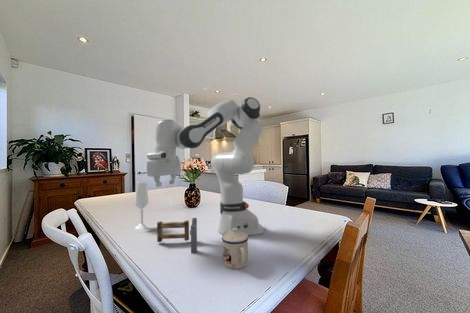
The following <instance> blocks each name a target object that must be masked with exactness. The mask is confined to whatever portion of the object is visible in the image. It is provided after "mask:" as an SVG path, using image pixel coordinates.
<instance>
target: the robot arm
mask: <svg viewBox="0 0 470 313" xmlns="http://www.w3.org/2000/svg"><path fill="white" fill-rule="evenodd" d="M260 111H261V104H260V102H259V101H258V100H257V99H256V98H255V97H253V96H252V97H246V98H244V99H243V101H242V102H241V104H240V105H238V103H237V102H236V101H234V100H233V99H227V100H224V101H221V102H219V103H218V104H216V105H214V106H213V107H212V108H210V109H209V110H208V111H207V114H206V118H205V119H204V120H203V121H201V122H199V123H198V124H191V125H187V126H185V127H183V126H181V125H179V123H177V122H176V121H175V120H173V119H164V120H160V121H158V123H156V127H155V141H156V142H155V143H156V144H155V150H153V151H151V152H148V153H147V154H146V158H147V160H146V161H147V162H146V175H147V176H148V177H153V180H154V182H155V187H156V188H159V187H162V182H161V180H160V179H161V177H163V176H170V180H169V181H168V182H169V183H168V184H169V185H175V180H176V177H177V175H180V174H181V171H182V167H181V166H182V165H181V160H180V158H179V157H178V156H179V155H177V148H178V149H182V150H184V149H196V148H198V147H200V146H201V145H202V143H203V142H204V141H205V138H206V137H207V136H209V135H210V133H212V132H213V131H214V130H216V129H217V128H220V127H222V126H225V125H226V124H227V123H228V122H229V121H230V122H231V123H232V124H233V126H234V127H235V128H237V129H238V130H240V131H239V132H238V133H237V135H236V137H235V138H234V139H233V147H234V149H233V150H232V151H228V152H227V151H226V152H220V153H217V154H214V155H213V156H212V158H211V160H210V166H211V167H210V168H212V170H213V171H214V172H215V175H216V176H217V179H218V182H219V186H220V187H219V188H220V201H219V202H220V203H219V212H220V218H219V225H218V230H217V231H218V233H219V234H221V235H224V234H225V233H227V232H230V231H232V228H238V230H239V231H241V232H244V233H246V234H247V235H248V237H249V236H256V235H262V234H264V232H265V229H264V226H263V225H262V224H260V223H259V219H258V216H257V215H256V214H255V213H253V212H252V211H251V210H249V207H250V206H249V203H247V202H246V201H245V200H244V188H243V184H242V183H241V182H240V181H239V180H238V178H237V176H236V175H245V174H246V175H247V174H249V173H251V172H252V171H253V170H254V167H255V160H254V156H253V155H252V152H253V149H254V148H255V147H256V145H257V142H258V141H259V139H260V137H261V135H262V132H263V126H262V124H261V122H259V120H258V118H260Z"/></svg>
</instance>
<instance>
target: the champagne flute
mask: <svg viewBox="0 0 470 313" xmlns="http://www.w3.org/2000/svg"><path fill="white" fill-rule="evenodd" d="M134 196H135V197H134V205H135V206H136V207H137V208H138V209H140V223H139V224H138V225H137V226H135V227H134V229H135V230H144V229H146V228H149V225H148V224H146V223H144V209H145V208H146V207H147V206H148V204H149V193H148V184H147V181H136V186H135V195H134Z"/></svg>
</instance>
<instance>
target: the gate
mask: <svg viewBox="0 0 470 313" xmlns="http://www.w3.org/2000/svg"><path fill="white" fill-rule="evenodd" d="M189 226H190V220H184V221H172V222H171V221H170V222H167V221H166V222H163V221H162V220H161V221H157V223H156V229H157V230H156V233H157V234H156V235H157V237H156V238H157V243H162V241H163V240H168V239H169V240H170V239H184V241H185V242H186V241H189V240H190V227H189ZM181 228H182V229H183V228H184V233H167V234H166V233H165V234H164V233H163V229H181Z"/></svg>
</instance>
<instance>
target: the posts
mask: <svg viewBox="0 0 470 313" xmlns="http://www.w3.org/2000/svg"><path fill="white" fill-rule="evenodd" d="M189 236H190V253H191V254H196V253H197V251H198V219H197V217H192V218H191V225H190V229H189Z"/></svg>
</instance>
